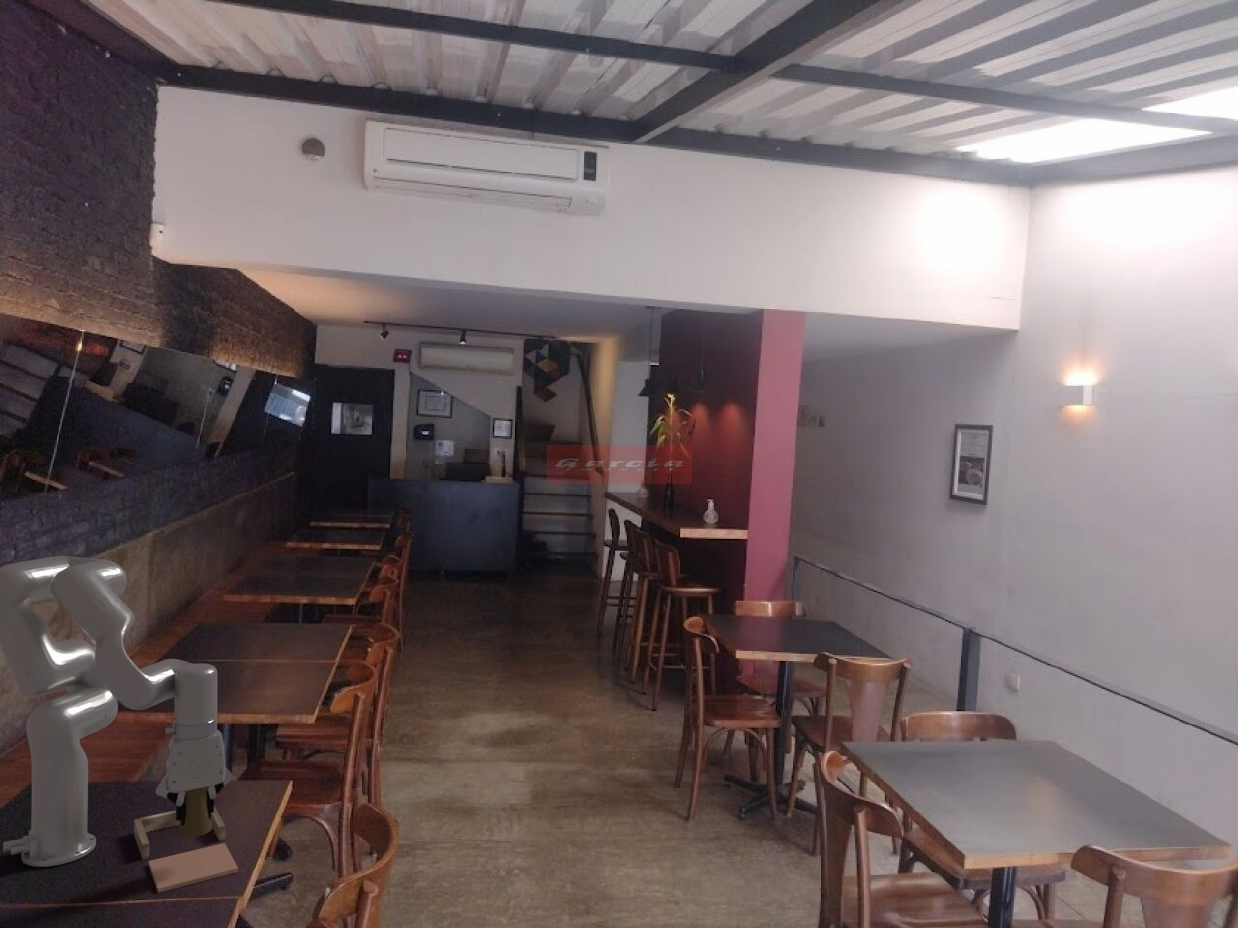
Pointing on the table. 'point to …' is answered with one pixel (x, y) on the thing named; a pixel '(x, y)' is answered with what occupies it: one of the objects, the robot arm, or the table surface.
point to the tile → (192, 867)
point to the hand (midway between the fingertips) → (195, 818)
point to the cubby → (168, 821)
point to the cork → (195, 814)
